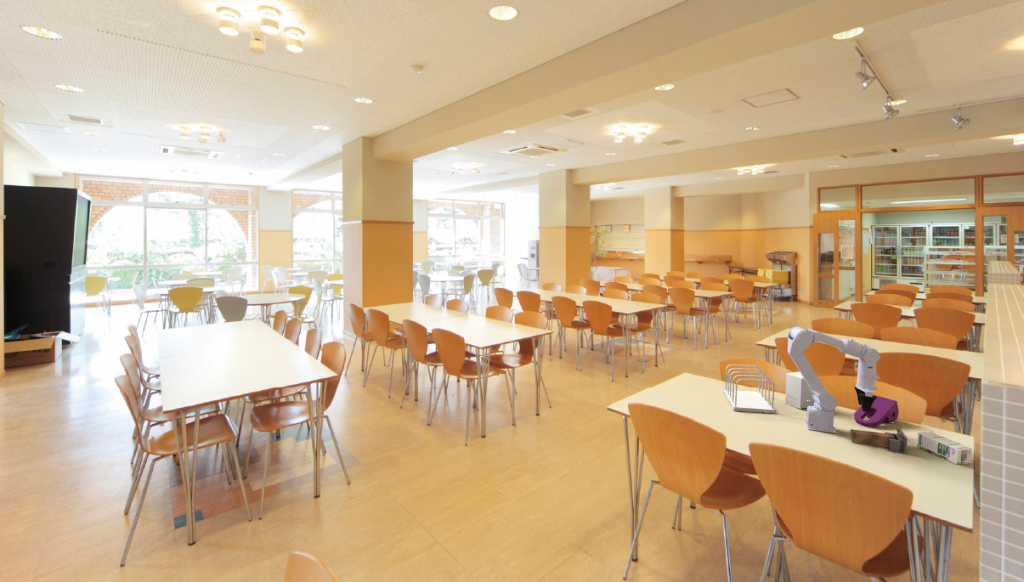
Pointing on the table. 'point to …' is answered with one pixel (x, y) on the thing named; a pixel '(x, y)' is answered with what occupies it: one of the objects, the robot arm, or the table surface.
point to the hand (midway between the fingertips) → (863, 408)
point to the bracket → (898, 442)
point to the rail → (871, 438)
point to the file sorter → (749, 393)
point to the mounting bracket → (878, 412)
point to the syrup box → (944, 447)
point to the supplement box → (798, 391)
